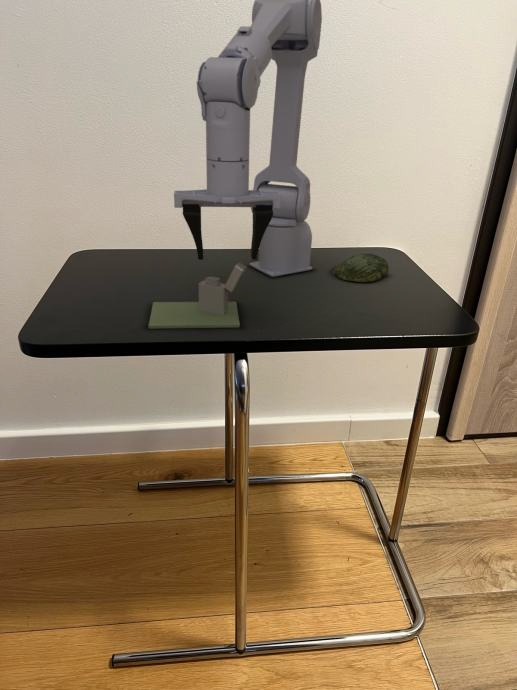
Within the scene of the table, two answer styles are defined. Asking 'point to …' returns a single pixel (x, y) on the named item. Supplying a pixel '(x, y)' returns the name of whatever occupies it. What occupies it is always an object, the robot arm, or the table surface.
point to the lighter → (218, 291)
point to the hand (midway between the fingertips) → (227, 257)
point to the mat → (191, 316)
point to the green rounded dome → (362, 268)
